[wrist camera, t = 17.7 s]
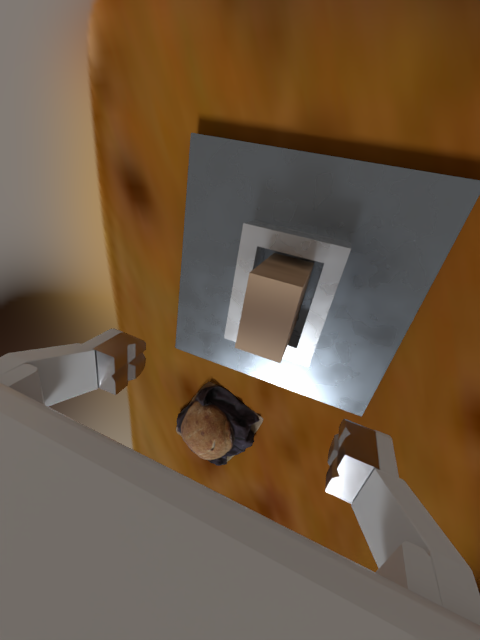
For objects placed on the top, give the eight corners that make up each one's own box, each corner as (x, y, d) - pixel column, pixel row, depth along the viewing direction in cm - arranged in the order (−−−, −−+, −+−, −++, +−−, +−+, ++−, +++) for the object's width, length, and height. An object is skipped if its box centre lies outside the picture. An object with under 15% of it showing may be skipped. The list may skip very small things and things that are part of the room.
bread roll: (227, 463, 34) (215, 490, 31) (173, 422, 35) (155, 446, 31) (273, 418, 29) (264, 447, 26) (208, 371, 29) (191, 393, 26)
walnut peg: (295, 323, 22) (280, 363, 17) (260, 312, 22) (234, 347, 17) (314, 263, 20) (302, 287, 14) (274, 252, 20) (249, 272, 15)
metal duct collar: (478, 182, 16) (509, 179, 13) (360, 408, 24) (362, 439, 21) (197, 135, 20) (171, 124, 17) (180, 343, 28) (160, 360, 25)
